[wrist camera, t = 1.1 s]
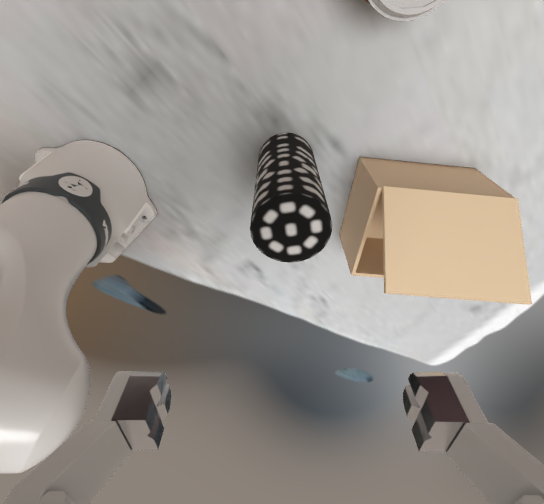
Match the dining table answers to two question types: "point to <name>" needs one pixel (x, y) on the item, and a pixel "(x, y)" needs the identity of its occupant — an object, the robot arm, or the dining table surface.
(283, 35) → the dining table surface
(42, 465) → the robot arm
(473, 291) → the carton flap
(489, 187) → the carton
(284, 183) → the white-spotted black cylinder
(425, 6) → the disposable coffee cup
